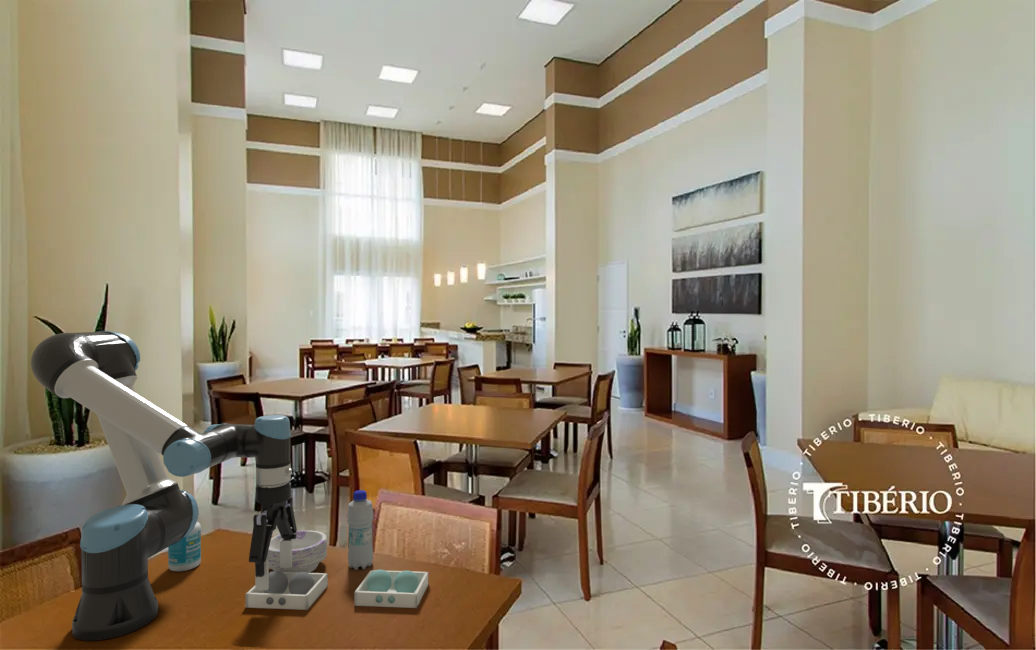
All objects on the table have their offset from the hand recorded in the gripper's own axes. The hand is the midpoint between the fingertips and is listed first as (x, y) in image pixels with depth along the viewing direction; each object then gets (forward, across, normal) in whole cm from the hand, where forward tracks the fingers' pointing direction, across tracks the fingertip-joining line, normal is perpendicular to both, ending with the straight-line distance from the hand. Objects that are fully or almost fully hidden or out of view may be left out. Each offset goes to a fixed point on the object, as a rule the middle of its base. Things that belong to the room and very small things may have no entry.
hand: (274, 577), depth 135 cm
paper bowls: (+5, +14, +2) cm, 15 cm away
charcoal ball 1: (+4, 0, 0) cm, 4 cm away
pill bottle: (+5, +14, +32) cm, 35 cm away
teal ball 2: (+4, +2, -30) cm, 31 cm away
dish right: (+5, +2, -27) cm, 28 cm away
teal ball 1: (+4, +2, -24) cm, 24 cm away
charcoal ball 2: (+4, 0, -6) cm, 8 cm away
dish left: (+5, 0, -3) cm, 6 cm away
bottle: (+5, +18, -14) cm, 23 cm away
